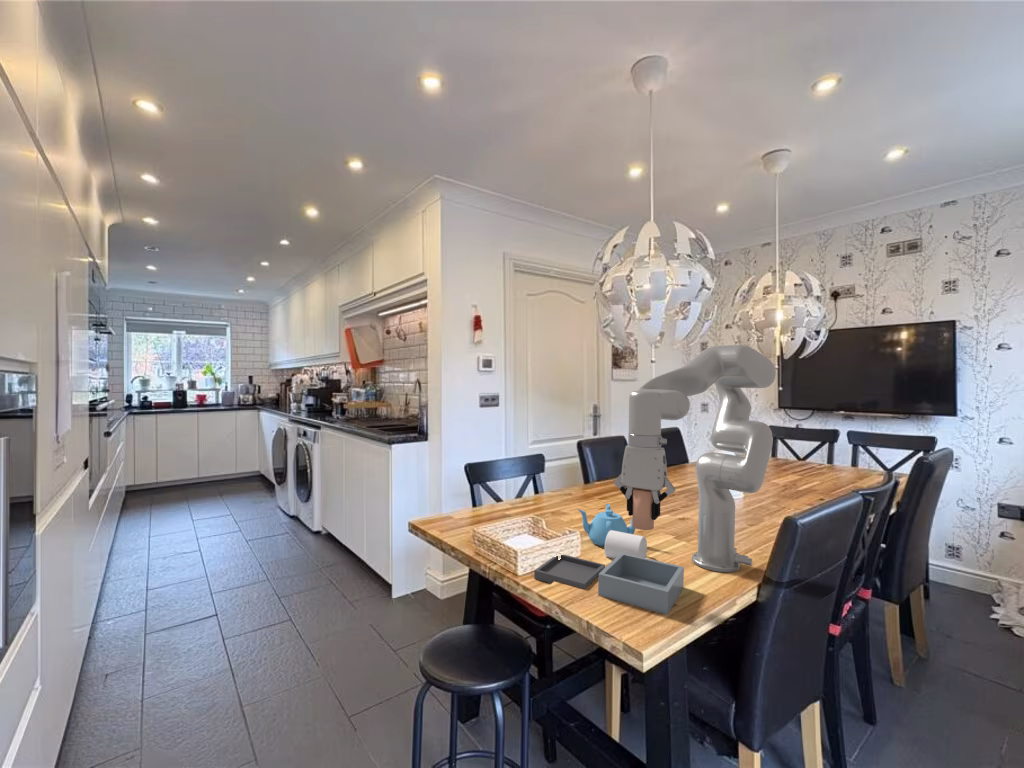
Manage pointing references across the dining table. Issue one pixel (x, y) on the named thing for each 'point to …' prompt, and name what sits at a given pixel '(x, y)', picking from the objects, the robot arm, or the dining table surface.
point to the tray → (569, 571)
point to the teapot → (605, 525)
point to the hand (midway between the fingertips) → (643, 515)
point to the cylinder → (642, 509)
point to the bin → (642, 582)
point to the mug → (625, 544)
